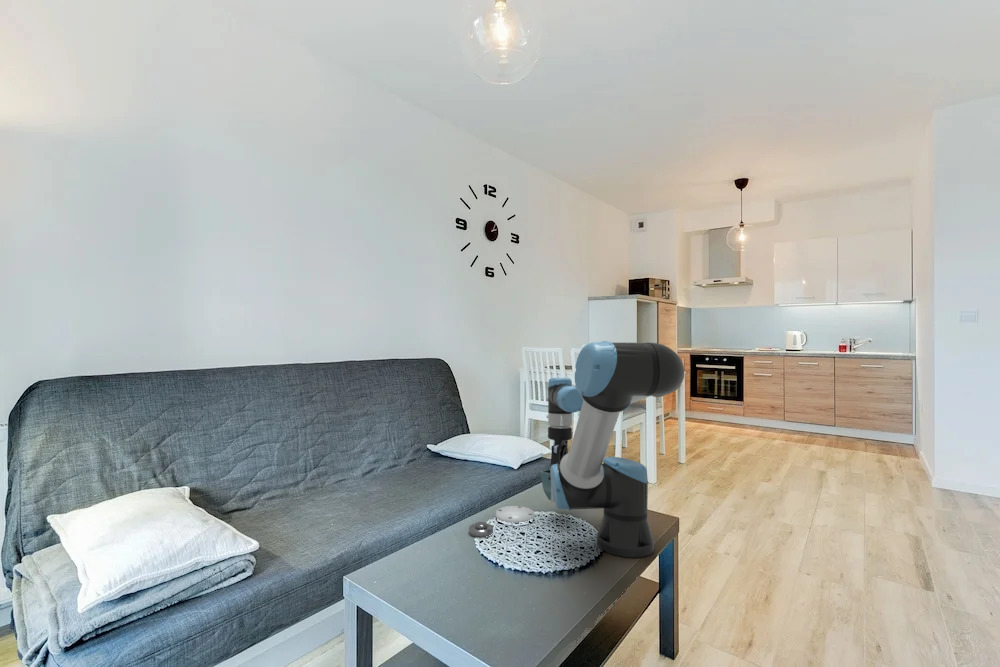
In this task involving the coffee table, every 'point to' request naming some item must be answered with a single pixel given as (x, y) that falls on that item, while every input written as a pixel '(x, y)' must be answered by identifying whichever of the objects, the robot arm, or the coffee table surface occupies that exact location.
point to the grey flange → (514, 514)
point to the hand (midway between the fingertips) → (559, 496)
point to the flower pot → (546, 483)
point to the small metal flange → (480, 529)
